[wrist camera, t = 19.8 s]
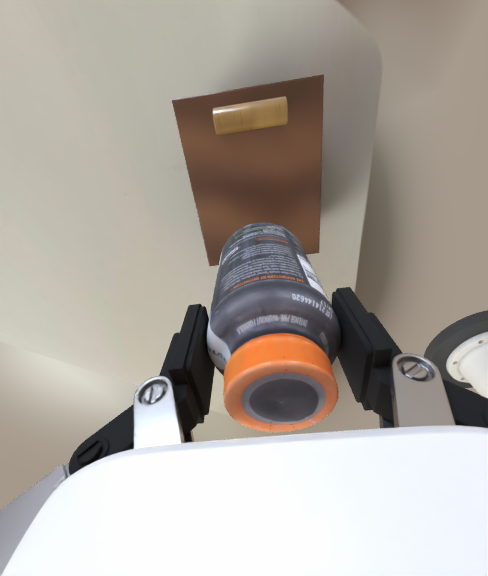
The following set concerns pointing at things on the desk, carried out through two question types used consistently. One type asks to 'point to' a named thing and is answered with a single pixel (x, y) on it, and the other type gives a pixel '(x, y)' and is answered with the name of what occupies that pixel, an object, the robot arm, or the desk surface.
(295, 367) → the pill bottle
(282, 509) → the robot arm
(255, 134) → the lid
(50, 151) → the desk surface
